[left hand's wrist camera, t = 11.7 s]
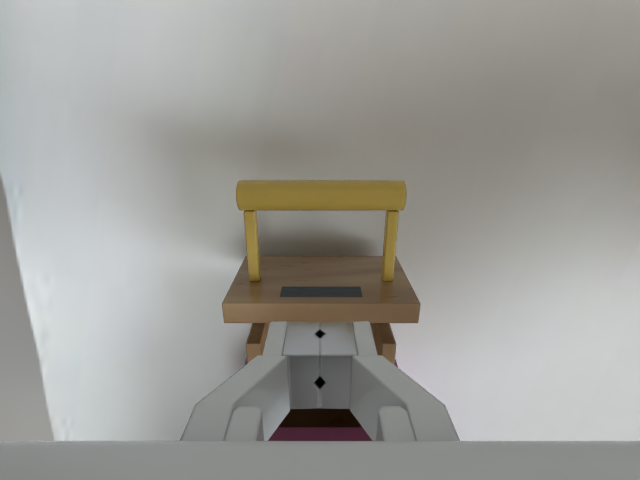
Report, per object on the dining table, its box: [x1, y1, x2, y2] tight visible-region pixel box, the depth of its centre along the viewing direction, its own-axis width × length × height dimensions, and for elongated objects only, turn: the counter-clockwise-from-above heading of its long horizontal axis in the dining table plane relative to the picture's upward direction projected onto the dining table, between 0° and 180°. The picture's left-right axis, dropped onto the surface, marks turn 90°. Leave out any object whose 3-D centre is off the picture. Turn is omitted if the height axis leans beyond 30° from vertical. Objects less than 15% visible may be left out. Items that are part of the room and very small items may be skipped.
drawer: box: [222, 180, 420, 427], centre depth 23 cm, size 24×10×6 cm, turn 0°
